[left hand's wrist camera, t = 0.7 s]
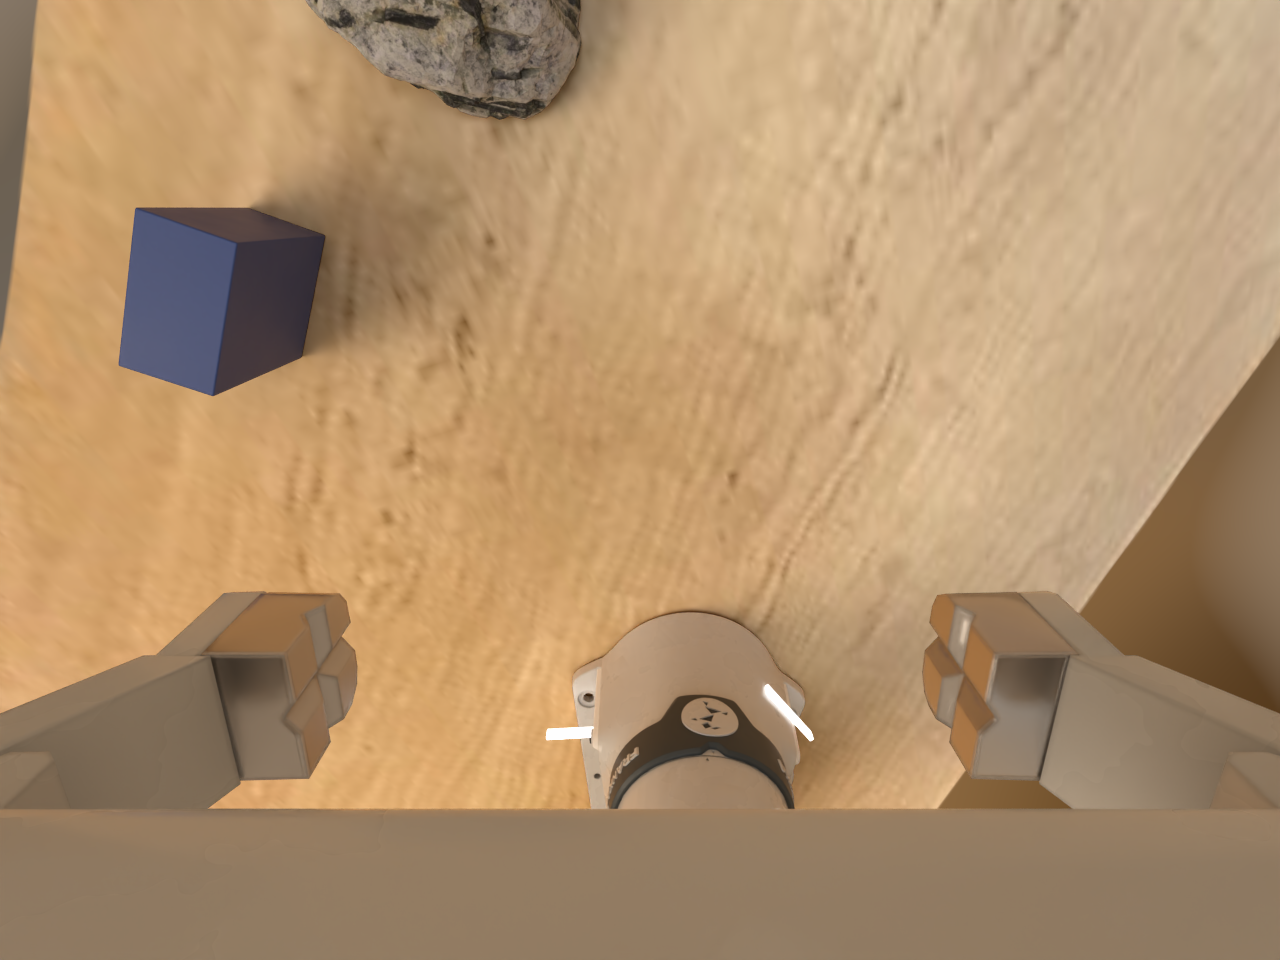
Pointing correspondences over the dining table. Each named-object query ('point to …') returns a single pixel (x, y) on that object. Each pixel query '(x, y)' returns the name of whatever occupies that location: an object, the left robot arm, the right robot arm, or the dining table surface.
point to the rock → (466, 48)
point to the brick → (216, 295)
